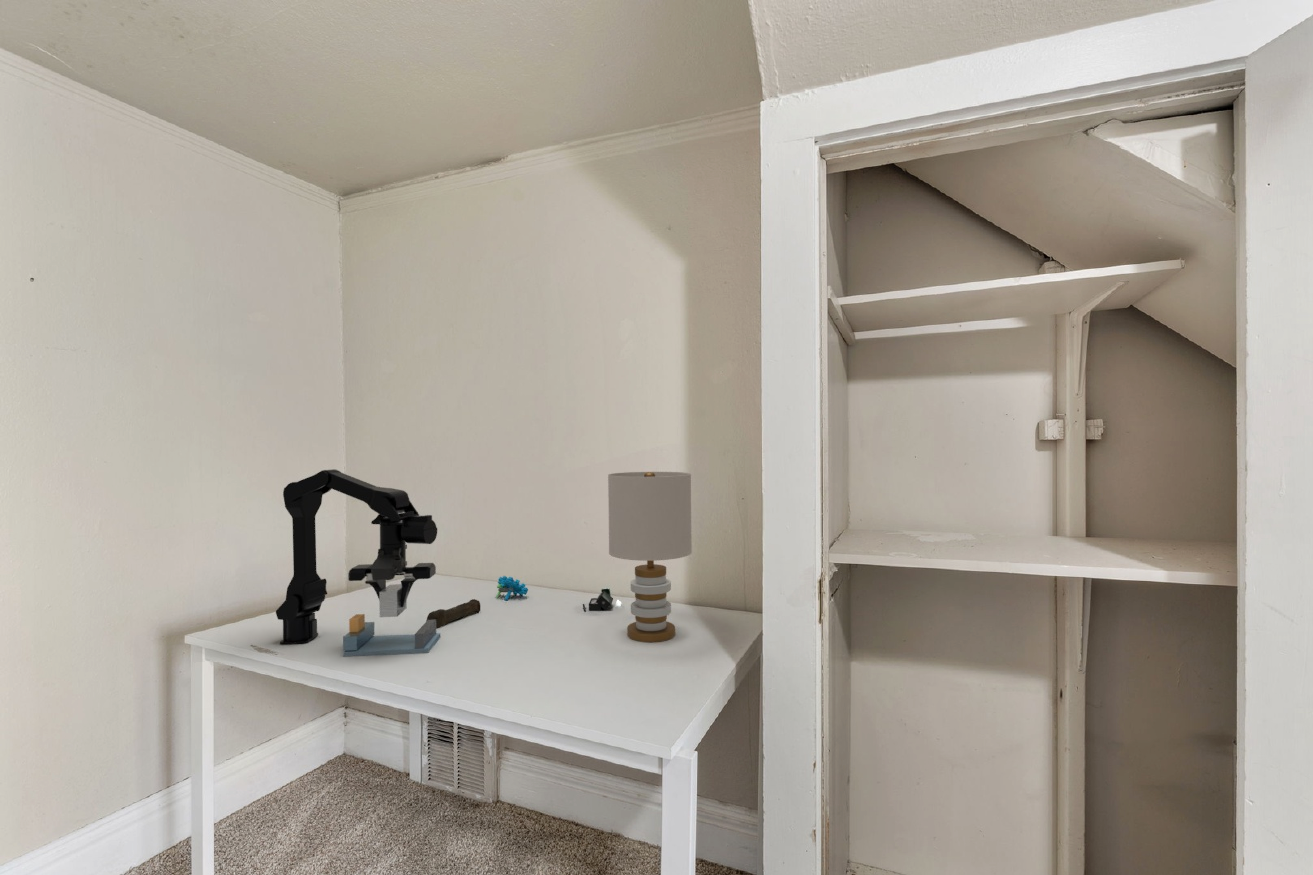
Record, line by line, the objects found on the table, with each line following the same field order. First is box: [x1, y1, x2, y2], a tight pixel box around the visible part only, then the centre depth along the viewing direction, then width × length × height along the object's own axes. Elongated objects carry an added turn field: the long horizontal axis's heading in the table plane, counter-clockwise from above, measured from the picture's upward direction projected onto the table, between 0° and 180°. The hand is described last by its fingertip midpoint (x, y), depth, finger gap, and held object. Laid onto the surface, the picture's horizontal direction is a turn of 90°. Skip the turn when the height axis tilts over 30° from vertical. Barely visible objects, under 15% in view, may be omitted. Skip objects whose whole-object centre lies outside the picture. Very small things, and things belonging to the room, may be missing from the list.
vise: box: [342, 619, 441, 657], centre depth 145 cm, size 19×11×4 cm, turn 96°
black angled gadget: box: [582, 587, 622, 613], centre depth 176 cm, size 15×15×6 cm
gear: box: [495, 575, 529, 601], centre depth 188 cm, size 11×6×10 cm
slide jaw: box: [342, 613, 375, 652], centre depth 145 cm, size 3×11×6 cm, turn 6°
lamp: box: [607, 471, 693, 643], centre depth 152 cm, size 21×21×41 cm
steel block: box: [378, 583, 408, 618], centre depth 146 cm, size 4×7×6 cm, turn 6°
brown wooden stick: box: [425, 598, 481, 629], centre depth 166 cm, size 19×4×5 cm, turn 153°
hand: (393, 607), depth 145 cm, fingers closed on steel block, 4 cm apart
